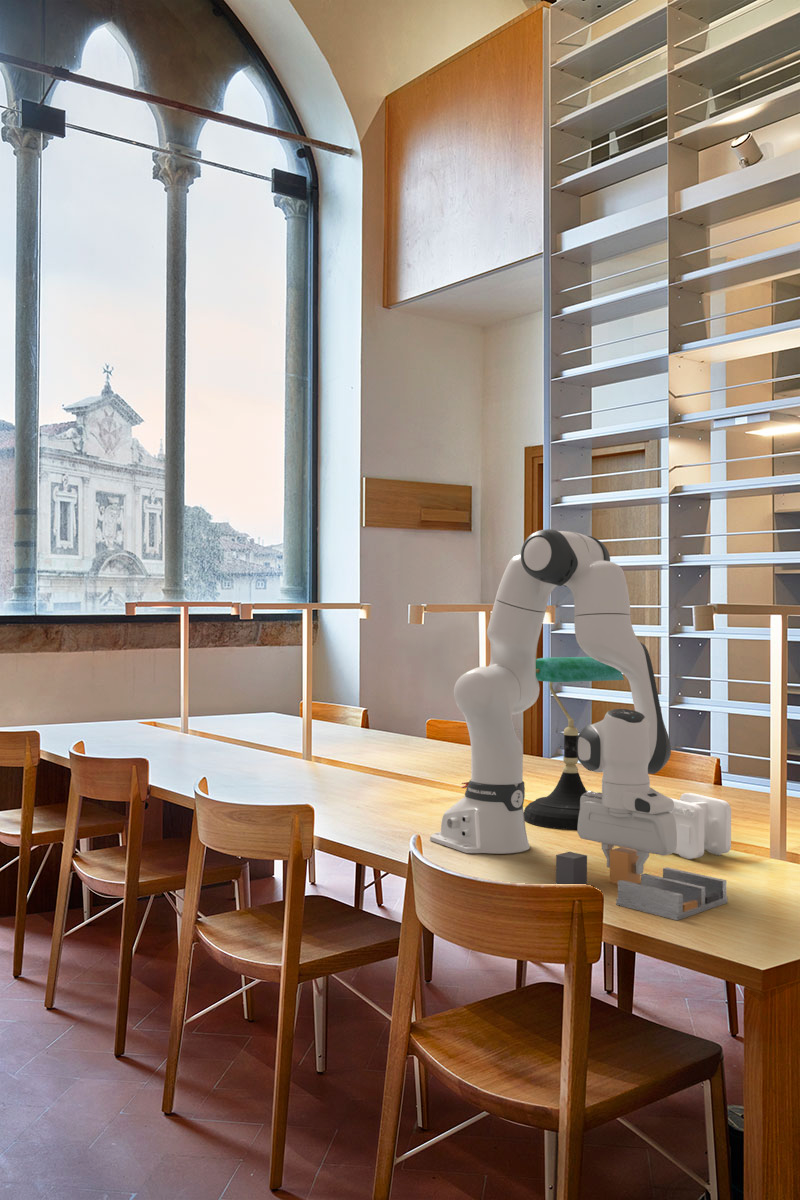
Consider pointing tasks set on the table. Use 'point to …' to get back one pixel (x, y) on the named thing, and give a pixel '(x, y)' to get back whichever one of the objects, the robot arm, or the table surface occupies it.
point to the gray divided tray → (673, 894)
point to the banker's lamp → (566, 743)
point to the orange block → (623, 865)
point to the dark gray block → (571, 868)
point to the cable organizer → (701, 825)
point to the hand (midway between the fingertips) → (624, 870)
